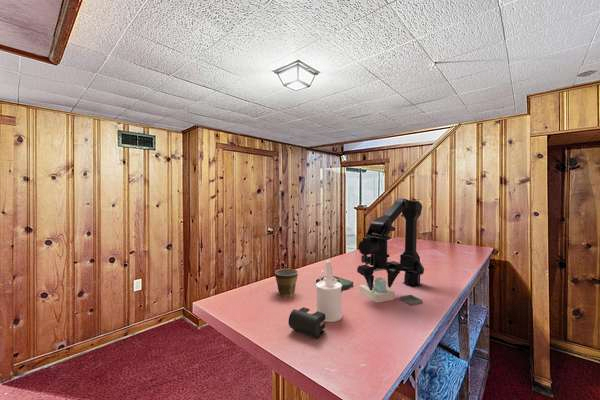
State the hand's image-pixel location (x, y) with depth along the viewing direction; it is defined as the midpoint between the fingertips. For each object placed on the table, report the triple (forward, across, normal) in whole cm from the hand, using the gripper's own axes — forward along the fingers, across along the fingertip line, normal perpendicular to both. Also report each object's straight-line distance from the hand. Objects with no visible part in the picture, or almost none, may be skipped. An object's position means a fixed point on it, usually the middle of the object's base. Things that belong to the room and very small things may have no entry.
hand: (380, 288), depth 112 cm
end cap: (+4, +38, +14) cm, 41 cm away
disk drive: (+5, +10, -22) cm, 24 cm away
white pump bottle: (+4, +26, +6) cm, 27 cm away
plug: (+4, 0, 0) cm, 4 cm away
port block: (+4, 0, -2) cm, 5 cm away
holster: (+4, -9, +8) cm, 12 cm away
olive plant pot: (+4, +35, -20) cm, 41 cm away
